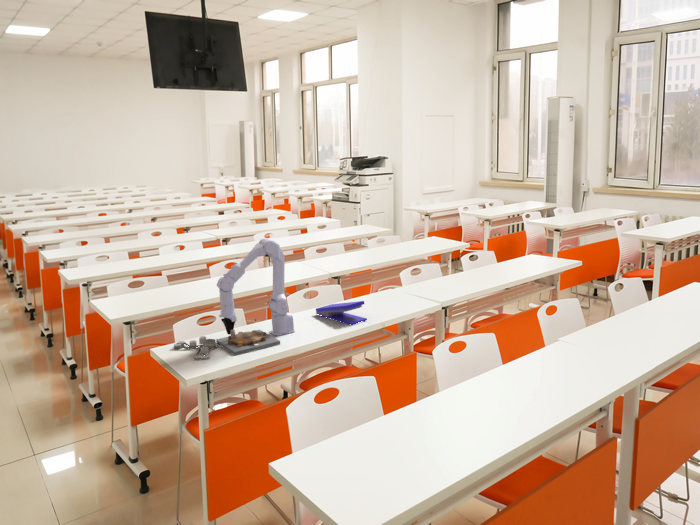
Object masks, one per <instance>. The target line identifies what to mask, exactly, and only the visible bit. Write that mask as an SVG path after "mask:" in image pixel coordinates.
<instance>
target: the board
mask: <svg viewBox="0 0 700 525" xmlns="http://www.w3.org/2000/svg"><path fill="white" fill-rule="evenodd" d="M252 331H253V330H251V331H250V332H252ZM256 332H261V333H262V332H264V331H263V330H261V329H256ZM266 336H267V340H266V341H260V342H258V343H257V344H254V345H253V344H249V345H242V346H238V345H236V344H230V345H229V344H228V337H229V336H225V337H221V338H215V340H216V341H215V342H218V343H219V344H220V345H219V344H218V343H217V344H218V345H219V346H221V347H222V346H223V347H224V349H225V350H226V349H227V350H226V351H228V352H229V353H231V354H232V355H233V356H238V355H242V354H245V353H250V352H255V351H258V350H261V349H266V348H270V347H274V346H279V345H281V340H279V339H278V338H275V337H274V336H272V335H270V334H268V333H267V332H266ZM223 347H222V348H223ZM254 350H255V351H254Z"/></svg>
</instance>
